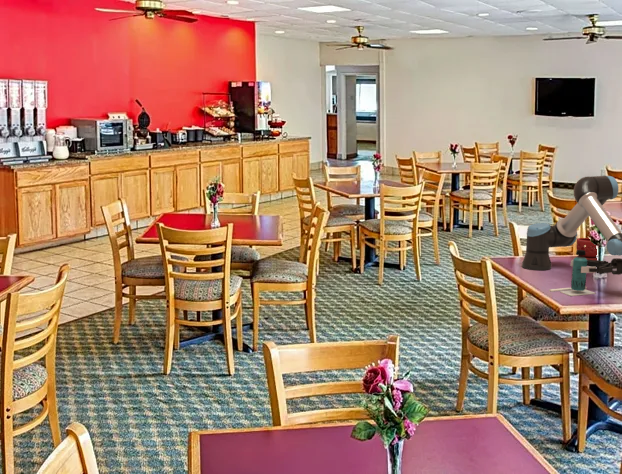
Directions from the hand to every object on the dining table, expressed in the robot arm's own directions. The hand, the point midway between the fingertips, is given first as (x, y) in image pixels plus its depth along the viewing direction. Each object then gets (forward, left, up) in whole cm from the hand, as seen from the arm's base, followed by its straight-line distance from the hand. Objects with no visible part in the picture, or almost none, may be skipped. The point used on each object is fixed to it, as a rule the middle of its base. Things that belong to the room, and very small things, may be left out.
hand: (576, 266), depth 368 cm
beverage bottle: (+1, +2, -12) cm, 13 cm away
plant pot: (-60, +56, -13) cm, 83 cm away
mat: (0, +2, -13) cm, 13 cm away
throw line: (-7, +2, -13) cm, 14 cm away
